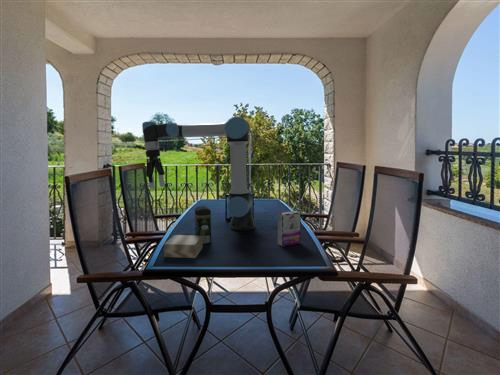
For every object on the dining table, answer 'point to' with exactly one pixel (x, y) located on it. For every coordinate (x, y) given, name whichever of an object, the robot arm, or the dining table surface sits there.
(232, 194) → the robot arm
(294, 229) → the candy bar box
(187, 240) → the birch block
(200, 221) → the coffee jar
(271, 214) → the dining table surface
